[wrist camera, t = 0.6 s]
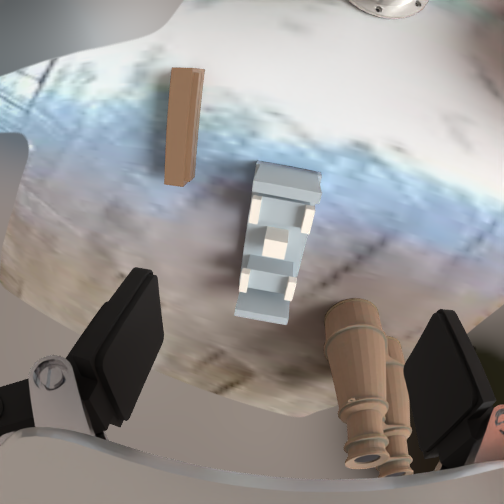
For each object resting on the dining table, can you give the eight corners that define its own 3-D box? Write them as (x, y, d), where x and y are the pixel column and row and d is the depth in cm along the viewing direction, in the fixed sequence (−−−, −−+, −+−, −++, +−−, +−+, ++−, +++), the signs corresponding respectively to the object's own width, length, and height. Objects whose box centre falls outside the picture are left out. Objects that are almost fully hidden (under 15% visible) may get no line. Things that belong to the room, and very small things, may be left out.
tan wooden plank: (186, 68, 33) (171, 67, 29) (209, 69, 33) (197, 68, 28) (177, 172, 40) (164, 184, 36) (199, 175, 40) (187, 187, 36)
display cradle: (257, 160, 38) (248, 179, 31) (320, 172, 37) (326, 194, 31) (240, 279, 47) (230, 314, 41) (292, 289, 47) (290, 325, 40)
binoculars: (310, 315, 49) (308, 461, 28) (364, 286, 45) (393, 436, 24) (365, 375, 56) (375, 490, 35) (409, 354, 52) (435, 472, 31)
